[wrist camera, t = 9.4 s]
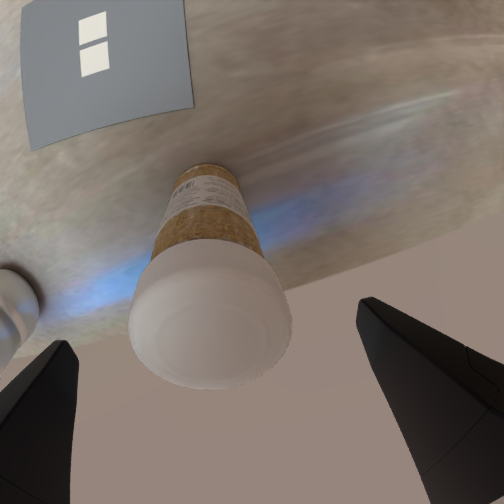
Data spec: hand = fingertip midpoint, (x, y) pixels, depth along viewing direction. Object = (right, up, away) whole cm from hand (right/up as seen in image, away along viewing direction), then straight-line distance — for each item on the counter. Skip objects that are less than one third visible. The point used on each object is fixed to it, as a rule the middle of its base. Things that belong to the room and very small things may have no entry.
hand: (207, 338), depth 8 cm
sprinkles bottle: (-2, +6, +11) cm, 13 cm away
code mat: (-9, +16, +5) cm, 19 cm away
